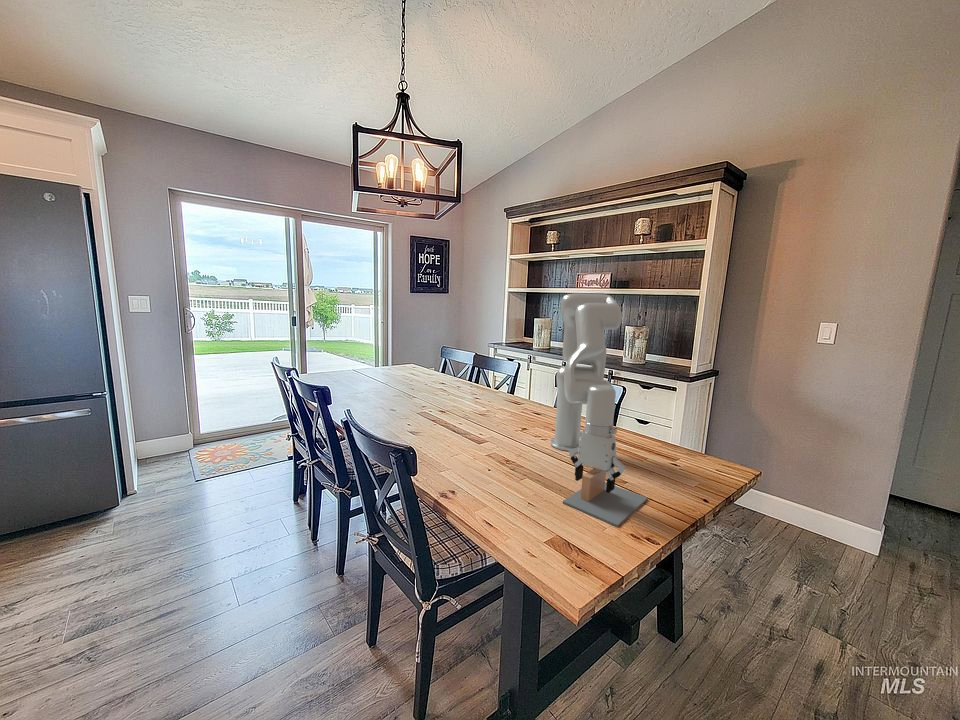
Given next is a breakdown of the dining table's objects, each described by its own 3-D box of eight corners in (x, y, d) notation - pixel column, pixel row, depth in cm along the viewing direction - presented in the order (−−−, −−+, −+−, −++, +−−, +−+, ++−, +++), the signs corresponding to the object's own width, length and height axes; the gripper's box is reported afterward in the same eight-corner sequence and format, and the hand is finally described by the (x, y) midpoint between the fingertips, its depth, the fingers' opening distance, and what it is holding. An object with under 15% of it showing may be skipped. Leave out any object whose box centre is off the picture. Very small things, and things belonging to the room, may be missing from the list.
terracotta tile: (597, 486, 119) (598, 465, 118) (604, 489, 117) (606, 467, 116) (580, 498, 112) (582, 475, 110) (588, 501, 110) (590, 478, 109)
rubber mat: (596, 480, 124) (596, 478, 124) (647, 499, 113) (647, 497, 113) (562, 503, 110) (562, 501, 110) (617, 527, 99) (617, 524, 99)
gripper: (634, 433, 108) (628, 491, 111) (578, 418, 120) (574, 471, 122) (622, 440, 103) (616, 500, 105) (564, 424, 114) (561, 479, 117)
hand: (593, 485), depth 114 cm, fingers open, 9 cm apart
